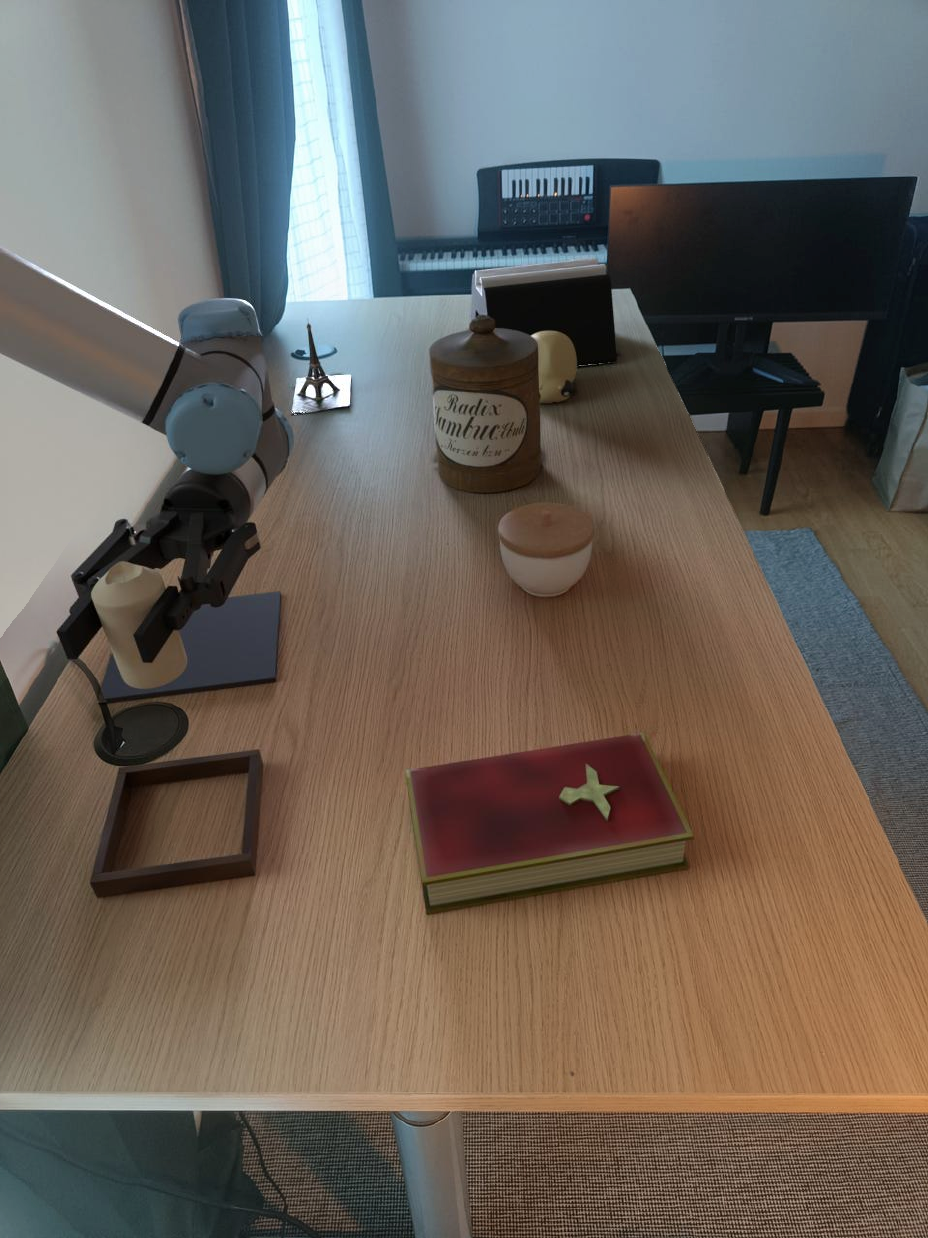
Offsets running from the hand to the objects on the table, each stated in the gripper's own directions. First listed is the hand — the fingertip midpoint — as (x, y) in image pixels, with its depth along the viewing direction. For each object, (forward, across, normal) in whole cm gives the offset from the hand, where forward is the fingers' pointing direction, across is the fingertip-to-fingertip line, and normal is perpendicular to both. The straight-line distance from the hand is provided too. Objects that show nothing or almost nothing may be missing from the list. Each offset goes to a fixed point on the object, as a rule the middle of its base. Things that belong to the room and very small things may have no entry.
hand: (104, 647), depth 66 cm
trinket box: (-37, -31, -18) cm, 52 cm away
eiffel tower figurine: (-93, +11, -18) cm, 95 cm away
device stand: (-114, -26, -18) cm, 118 cm away
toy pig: (-93, -28, -18) cm, 99 cm away
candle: (-5, 0, -7) cm, 8 cm away
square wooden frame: (+2, -3, -18) cm, 18 cm away
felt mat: (-22, +6, -18) cm, 29 cm away
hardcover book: (0, -33, -18) cm, 38 cm away
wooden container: (-65, -22, -18) cm, 71 cm away
